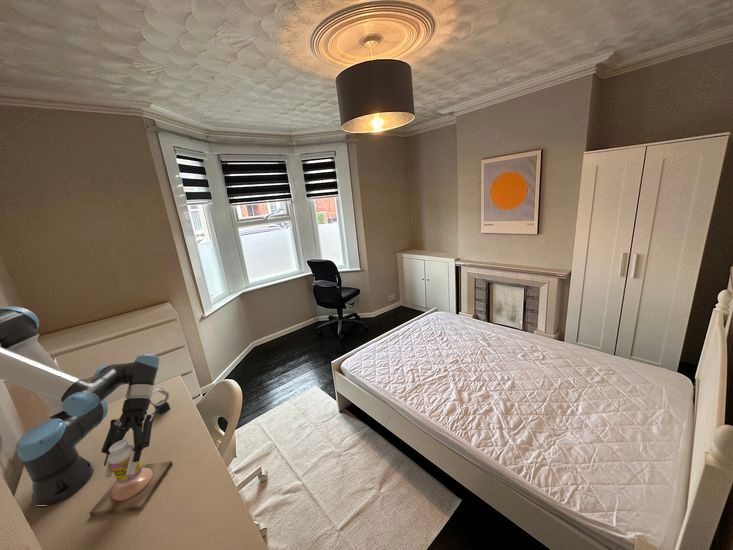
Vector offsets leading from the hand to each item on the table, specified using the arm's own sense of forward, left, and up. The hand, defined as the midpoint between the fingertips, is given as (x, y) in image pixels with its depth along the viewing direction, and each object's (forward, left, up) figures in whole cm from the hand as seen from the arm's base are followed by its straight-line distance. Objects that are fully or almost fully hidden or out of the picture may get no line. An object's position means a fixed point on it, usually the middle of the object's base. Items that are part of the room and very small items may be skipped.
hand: (118, 476), depth 93 cm
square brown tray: (0, +4, -9) cm, 10 cm away
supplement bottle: (0, +4, -4) cm, 6 cm away
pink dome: (0, +4, -8) cm, 9 cm away
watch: (-16, +45, -10) cm, 48 cm away
